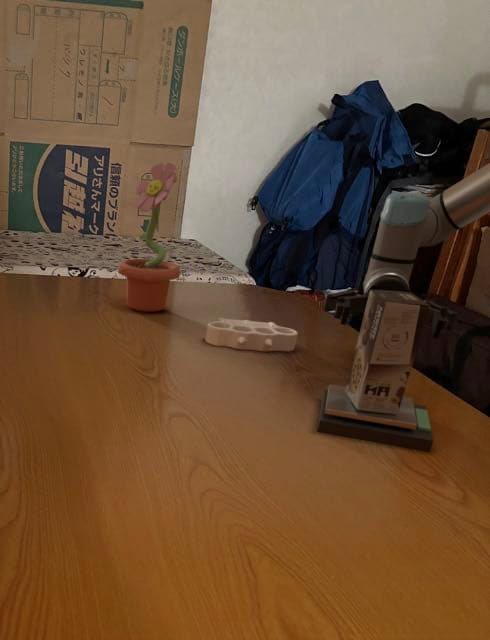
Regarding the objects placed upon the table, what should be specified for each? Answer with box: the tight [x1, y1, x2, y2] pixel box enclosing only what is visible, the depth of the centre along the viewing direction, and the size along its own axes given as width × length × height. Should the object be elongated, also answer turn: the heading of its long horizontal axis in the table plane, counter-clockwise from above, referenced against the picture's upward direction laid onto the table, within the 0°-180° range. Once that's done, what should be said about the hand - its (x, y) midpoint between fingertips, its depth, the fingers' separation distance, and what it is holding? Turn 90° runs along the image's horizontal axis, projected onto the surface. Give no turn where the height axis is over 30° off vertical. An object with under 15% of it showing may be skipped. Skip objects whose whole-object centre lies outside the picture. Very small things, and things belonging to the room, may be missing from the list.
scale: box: [316, 389, 434, 453], centre depth 120 cm, size 16×16×2 cm
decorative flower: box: [117, 162, 181, 313], centre depth 169 cm, size 15×14×30 cm
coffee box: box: [345, 290, 430, 415], centre depth 115 cm, size 9×6×16 cm
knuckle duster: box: [204, 317, 299, 353], centre depth 156 cm, size 3×18×15 cm
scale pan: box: [325, 383, 417, 430], centre depth 119 cm, size 13×13×1 cm
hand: (391, 322), depth 117 cm, fingers open, 13 cm apart
